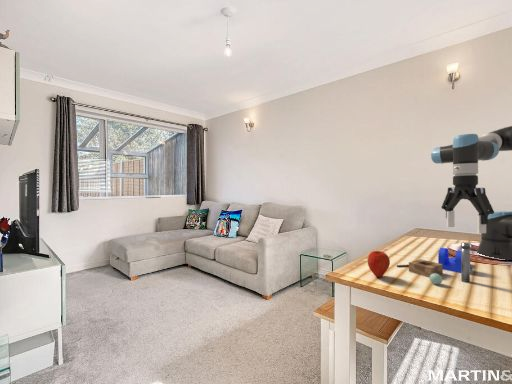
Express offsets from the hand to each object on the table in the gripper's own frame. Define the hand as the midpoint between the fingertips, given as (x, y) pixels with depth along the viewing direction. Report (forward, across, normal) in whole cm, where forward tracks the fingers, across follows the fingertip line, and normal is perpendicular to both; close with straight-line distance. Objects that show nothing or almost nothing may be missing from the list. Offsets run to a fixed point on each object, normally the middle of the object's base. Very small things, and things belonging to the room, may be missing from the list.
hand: (465, 229), depth 98 cm
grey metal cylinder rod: (+20, 0, 0) cm, 20 cm away
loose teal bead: (+20, +1, -13) cm, 24 cm away
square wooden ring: (+20, -11, -8) cm, 24 cm away
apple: (+20, -9, -30) cm, 37 cm away
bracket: (+20, -17, +11) cm, 29 cm away
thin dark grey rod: (+20, -20, -8) cm, 29 cm away
